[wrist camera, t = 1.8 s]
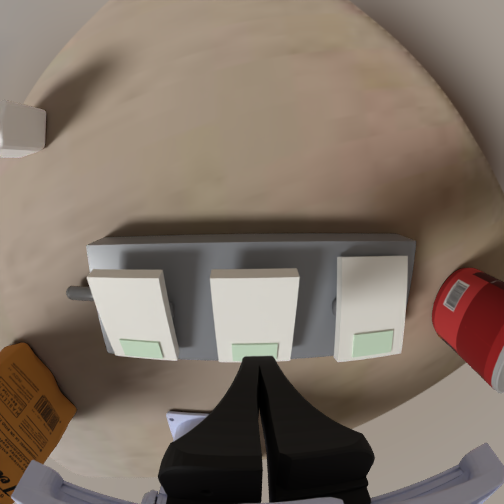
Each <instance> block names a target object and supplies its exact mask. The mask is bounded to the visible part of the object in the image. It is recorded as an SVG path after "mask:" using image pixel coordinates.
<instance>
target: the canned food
mask: <svg viewBox="0 0 504 504" xmlns="http://www.w3.org/2000/svg"><path fill="white" fill-rule="evenodd" d="M432 322H433V326H434V328H435V331H436V332H437V334H438V336H439V337H440V338H441V339H442V340H443V341H445V342H446V343H447V344H448V345H449V346H450V347H451V348H452V349H453V350H454V351H455V352H456V353H457V354H458V355H459V356H460V357H461V358H462V359H464V360H465V361H466V362H467V363H468V364H469V365H470V366H471V367H472V368H473V369H474V370H475V371H476V372H477V373H478V374H479V375H480V376H481V377H482V378H483V379H484V380H485V381H486V382H487V383H488V384H489V385H490V386H491V387H492V388H493V389H494V390H496V391H497V392H498V393H504V282H503V281H500V280H498V279H496V278H494V277H492V276H490V275H488V274H486V273H484V272H482V271H480V270H478V269H475V268H462V269H459V270H457V271H455V272H454V273H453V274H452V275H450V276H449V277H448V278H447V280H446V281H445V282H444V284H443V285H442V287H441V288H440V290H439V292H438V294H437V296H436V299H435V302H434V306H433V311H432Z"/></svg>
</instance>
